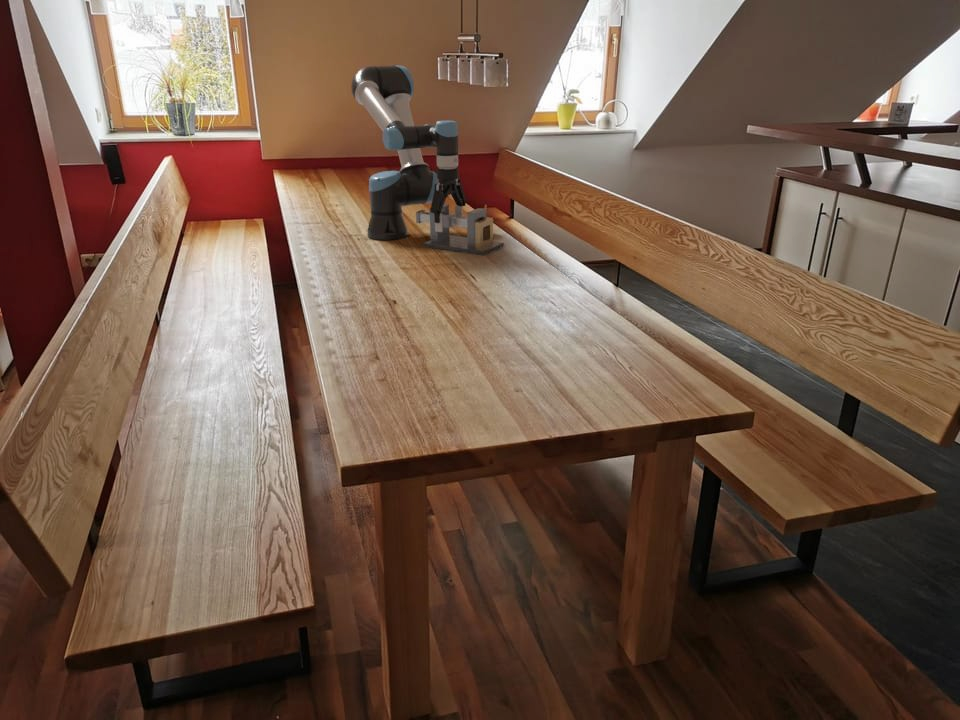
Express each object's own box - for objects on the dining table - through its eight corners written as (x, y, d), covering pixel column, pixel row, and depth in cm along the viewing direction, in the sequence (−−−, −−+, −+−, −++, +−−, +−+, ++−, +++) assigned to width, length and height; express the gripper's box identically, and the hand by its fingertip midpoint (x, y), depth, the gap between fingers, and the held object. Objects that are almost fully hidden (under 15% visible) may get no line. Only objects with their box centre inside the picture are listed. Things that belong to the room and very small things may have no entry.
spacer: (475, 248, 262) (475, 222, 258) (488, 242, 269) (487, 217, 265) (480, 248, 261) (480, 222, 257) (492, 243, 268) (492, 217, 265)
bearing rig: (423, 246, 270) (422, 209, 264) (444, 238, 281) (443, 202, 276) (484, 255, 258) (484, 216, 253) (503, 246, 269) (503, 208, 264)
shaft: (415, 223, 274) (415, 211, 272) (422, 221, 277) (422, 209, 276) (472, 230, 263) (472, 218, 261) (478, 228, 266) (478, 215, 264)
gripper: (437, 173, 250) (439, 236, 258) (475, 163, 270) (475, 222, 278) (418, 171, 253) (421, 233, 262) (457, 161, 273) (458, 220, 281)
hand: (449, 227), depth 270 cm, fingers open, 13 cm apart
